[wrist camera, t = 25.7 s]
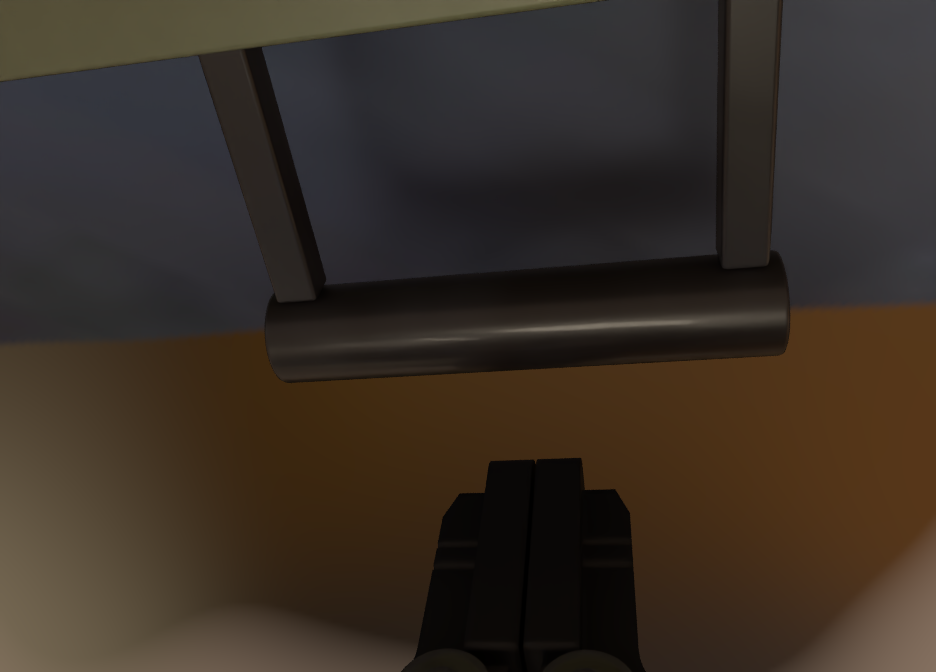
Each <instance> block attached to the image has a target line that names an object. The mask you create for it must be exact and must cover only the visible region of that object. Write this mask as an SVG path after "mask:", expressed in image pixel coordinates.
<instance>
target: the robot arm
mask: <svg viewBox="0 0 936 672" xmlns="http://www.w3.org/2000/svg"><path fill="white" fill-rule="evenodd" d="M401 672H646V671H645V670H644V668H643V666H642V663H641V660H640V656H639V649H638V634H637V619H636V603H635V588H634V572H633V556H632V539H631V524H630V513H629V511H628V510H627V508H626V506H625V505H624V503H623V501H622V500H621V498H620V497H619V495H618V493H617V492H616V490H615V489H611V490H585V488H584V477H583V467H582V460H581V458H564V459H538V460H537V462H536V464H535V461H534V460H511V461H491V462H490V463H489V467H488V474H487V481H486V488H485V493H462V494H459V495H458V497H457V498H456V500H455V501H454V502H453V504H452V505H451V506H450V508H449V509H448V511H447V512H446V514H445V515H444V516H443V519H442V525H441V529H440V535H439V540H438V548H437V551H436V556H435V560H434V570H433V572H432V576H431V582H430V586H429V592H428V597H427V602H426V607H425V612H424V618H423V623H422V628H421V633H420V638H419V644H418V648H417V652H416V655H415V658H414V660H412V662H410V663H409V664H408V665H407V666H406V667H405V668H404V669H403V670H402V671H401Z"/></svg>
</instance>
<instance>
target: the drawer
mask: <svg viewBox="0 0 936 672" xmlns="http://www.w3.org/2000/svg"><path fill="white" fill-rule="evenodd" d="M599 1H607V0H0V82H4V81H11V80H18V79H26V78H33V77H41V76H48V75H56V74H63V73H71V72H78V71H85V70H93V69H100V68H108V67H115V66H123V65H130V64H138V63H145V62H152V61H160V60H167V59H175V58H182V57H190V56H197V55H198V56H199V59H200V62H201V65H202V69H203V72H204V75H205V78H206V81H207V84H208V87H209V90H210V94H211V97H212V100H213V103H214V106H215V109H216V112H217V115H218V118H219V122H220V125H221V128H222V131H223V134H224V137H225V140H226V143H227V146H228V150H229V153H230V156H231V159H232V162H233V165H234V168H235V171H236V174H237V178H238V181H239V184H240V187H241V190H242V193H243V196H244V199H245V202H246V206H247V209H248V212H249V215H250V218H251V221H252V224H253V227H254V230H255V234H256V237H257V240H258V243H259V246H260V249H261V252H262V255H263V259H264V262H265V265H266V268H267V271H268V274H269V277H270V280H271V283H272V287H273V290H274V293H273V295H272V296H271V298H270V300H269V303H268V306H267V310H266V316H265V341H266V349H267V354H268V357H269V361H270V364H271V366H272V369H273V371H274V372H275V374H276V375H277V377H278V378H279V379H280V380H282V381H284V382H287V383H295V382H314V381H331V380H349V379H367V378H385V377H403V376H420V375H437V374H456V373H473V372H492V371H508V370H509V371H510V370H527V369H544V368H545V369H546V368H563V367H581V366H599V365H615V364H616V365H617V364H634V363H653V362H670V361H688V360H706V359H723V358H742V357H758V356H759V357H760V356H776V355H777V356H778V355H781V354H783V353H784V352H785V350H786V347H787V344H788V339H789V332H790V299H789V288H788V281H787V275H786V271H785V267H784V263H783V261H782V258H781V256H780V254H779V253H778V252H777V251H774V250H770V247H771V227H772V208H773V188H774V168H775V148H776V129H777V109H778V89H779V70H780V50H781V30H782V10H783V0H718V82H717V175H716V250H717V254H716V255H703V256H690V257H677V258H664V259H651V260H639V261H626V262H613V263H600V264H587V265H575V266H562V267H549V268H536V269H523V270H510V271H498V272H485V273H472V274H459V275H446V276H433V277H421V278H408V279H395V280H382V281H369V282H356V283H344V284H331V285H324V284H325V282H326V276H325V273H324V269H323V266H322V262H321V258H320V255H319V251H318V248H317V244H316V240H315V237H314V233H313V230H312V226H311V223H310V219H309V215H308V212H307V208H306V205H305V201H304V198H303V194H302V190H301V187H300V183H299V180H298V176H297V172H296V169H295V165H294V162H293V158H292V155H291V151H290V147H289V144H288V140H287V137H286V133H285V130H284V126H283V122H282V119H281V115H280V112H279V108H278V104H277V101H276V97H275V94H274V90H273V87H272V83H271V79H270V76H269V72H268V69H267V65H266V61H265V58H264V54H263V51H262V47H264V46H272V45H279V44H286V43H294V42H301V41H309V40H316V39H324V38H331V37H339V36H346V35H353V34H361V33H368V32H376V31H383V30H391V29H398V28H406V27H413V26H420V25H428V24H435V23H443V22H450V21H458V20H465V19H473V18H480V17H487V16H495V15H502V14H510V13H517V12H525V11H532V10H540V9H547V8H554V7H562V6H569V5H577V4H584V3H592V2H599Z"/></svg>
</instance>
